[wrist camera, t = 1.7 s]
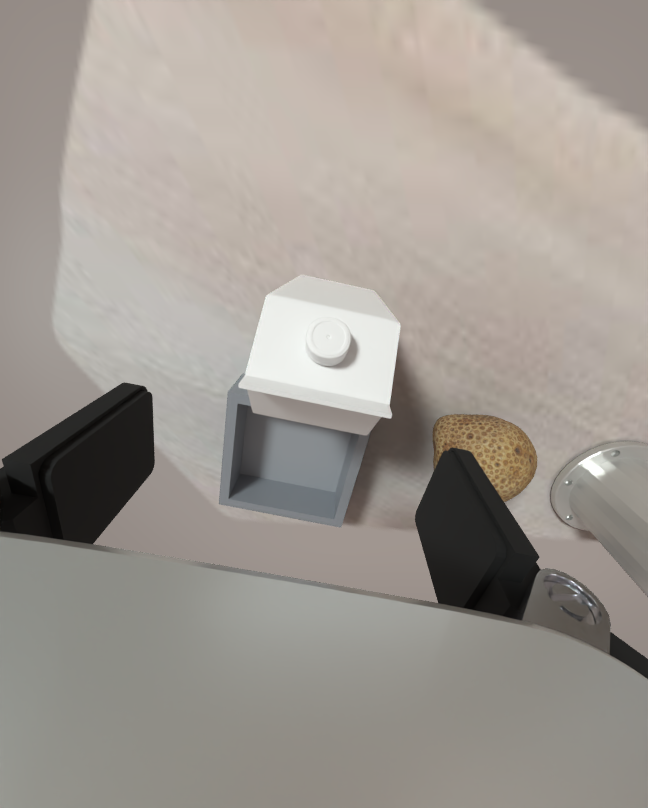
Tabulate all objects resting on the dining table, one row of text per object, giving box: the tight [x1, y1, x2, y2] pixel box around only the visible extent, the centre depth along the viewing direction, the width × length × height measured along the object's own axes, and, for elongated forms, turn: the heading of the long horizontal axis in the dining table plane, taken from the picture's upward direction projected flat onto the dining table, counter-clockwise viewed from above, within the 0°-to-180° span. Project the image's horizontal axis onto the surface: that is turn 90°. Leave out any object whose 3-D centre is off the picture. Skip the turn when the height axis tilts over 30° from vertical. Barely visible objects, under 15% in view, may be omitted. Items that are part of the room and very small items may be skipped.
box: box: [219, 374, 371, 527], centre depth 36 cm, size 14×14×5 cm
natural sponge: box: [433, 414, 537, 502], centre depth 32 cm, size 9×9×10 cm
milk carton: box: [238, 275, 401, 436], centre depth 23 cm, size 7×7×19 cm
